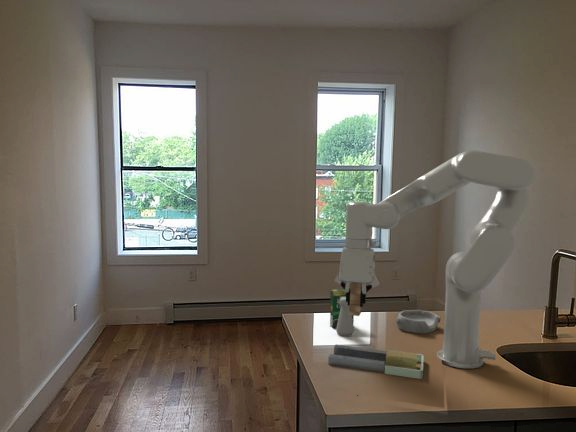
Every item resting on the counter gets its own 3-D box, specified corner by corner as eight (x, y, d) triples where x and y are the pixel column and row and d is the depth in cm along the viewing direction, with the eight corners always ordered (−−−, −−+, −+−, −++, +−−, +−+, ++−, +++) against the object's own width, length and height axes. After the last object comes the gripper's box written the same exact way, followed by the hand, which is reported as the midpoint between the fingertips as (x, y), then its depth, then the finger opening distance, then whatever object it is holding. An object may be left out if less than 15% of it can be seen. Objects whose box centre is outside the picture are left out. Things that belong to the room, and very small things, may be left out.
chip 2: (416, 367, 129) (417, 353, 129) (416, 373, 125) (416, 359, 125) (401, 365, 130) (402, 351, 130) (400, 371, 127) (401, 356, 126)
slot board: (386, 361, 135) (387, 351, 134) (383, 375, 125) (383, 364, 125) (335, 354, 139) (335, 344, 139) (328, 367, 130) (328, 356, 129)
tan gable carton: (361, 311, 142) (362, 279, 141) (359, 316, 138) (360, 282, 137) (351, 310, 143) (352, 278, 142) (348, 314, 139) (350, 281, 138)
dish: (442, 327, 167) (443, 313, 167) (431, 338, 155) (432, 323, 155) (402, 319, 175) (403, 306, 174) (389, 329, 163) (389, 315, 163)
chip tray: (423, 364, 133) (423, 354, 133) (422, 382, 121) (422, 371, 121) (388, 360, 136) (389, 350, 135) (384, 377, 124) (385, 366, 124)
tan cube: (401, 365, 130) (402, 351, 130) (400, 371, 126) (401, 357, 126) (387, 363, 131) (387, 349, 131) (385, 369, 128) (386, 355, 127)
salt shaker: (353, 340, 151) (354, 300, 150) (335, 338, 152) (336, 299, 151) (354, 334, 157) (355, 296, 155) (337, 333, 158) (338, 295, 157)
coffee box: (331, 328, 162) (332, 291, 161) (329, 325, 165) (330, 289, 164) (353, 327, 164) (355, 290, 163) (350, 324, 167) (352, 288, 166)
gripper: (387, 244, 140) (384, 304, 141) (333, 240, 144) (331, 299, 146) (385, 247, 133) (382, 311, 134) (328, 243, 137) (325, 305, 139)
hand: (355, 304), depth 140 cm, fingers closed on tan gable carton, 3 cm apart
